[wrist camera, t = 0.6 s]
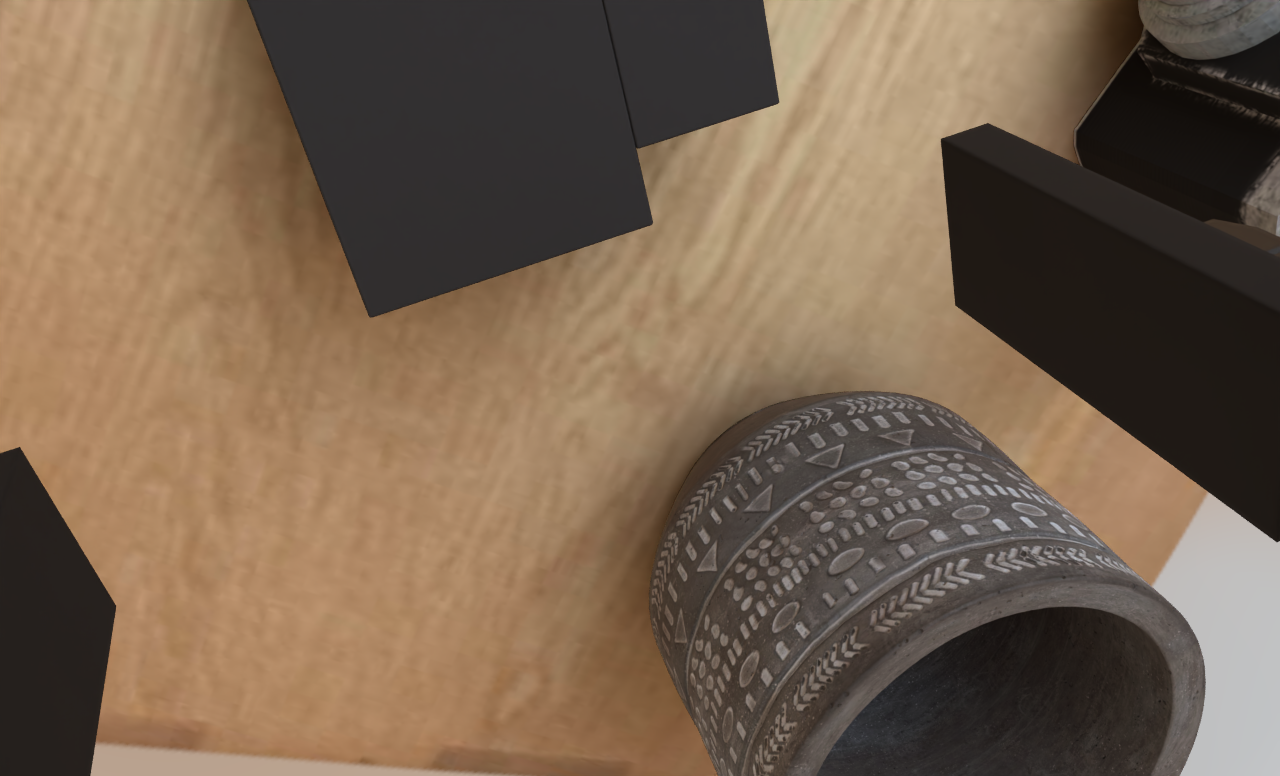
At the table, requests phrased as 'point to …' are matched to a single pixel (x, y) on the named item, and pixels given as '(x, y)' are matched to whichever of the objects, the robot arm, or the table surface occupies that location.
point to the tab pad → (499, 121)
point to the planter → (908, 608)
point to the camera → (1195, 112)
